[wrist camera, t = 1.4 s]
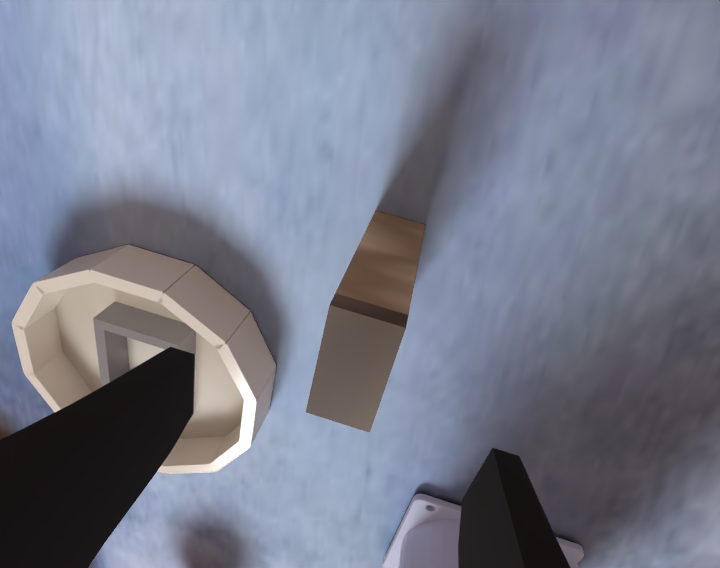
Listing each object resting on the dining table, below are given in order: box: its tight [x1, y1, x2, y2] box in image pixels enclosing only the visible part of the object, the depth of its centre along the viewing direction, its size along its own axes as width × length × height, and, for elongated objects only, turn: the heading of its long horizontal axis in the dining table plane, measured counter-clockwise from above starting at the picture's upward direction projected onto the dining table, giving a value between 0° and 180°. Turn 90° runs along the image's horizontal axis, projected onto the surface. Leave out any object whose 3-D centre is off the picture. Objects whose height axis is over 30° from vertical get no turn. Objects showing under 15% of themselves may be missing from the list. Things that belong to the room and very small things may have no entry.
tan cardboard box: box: [306, 211, 425, 432], centre depth 15 cm, size 2×4×7 cm, turn 168°
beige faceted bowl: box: [12, 245, 276, 474], centre depth 22 cm, size 12×12×2 cm
